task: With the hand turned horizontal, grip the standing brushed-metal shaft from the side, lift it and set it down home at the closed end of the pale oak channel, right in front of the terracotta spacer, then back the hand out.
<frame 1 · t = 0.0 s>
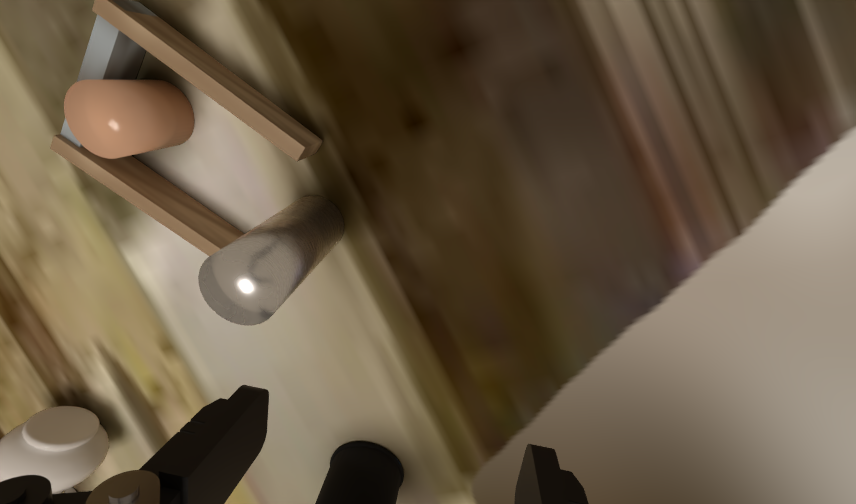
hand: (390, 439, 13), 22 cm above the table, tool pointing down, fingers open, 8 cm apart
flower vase: (87, 466, 52), on the table
aerosol can: (367, 467, 45), on the table
spacer: (164, 113, 33), resting in channel
shaft: (316, 223, 35), on the table
channel: (202, 141, 33), on the table
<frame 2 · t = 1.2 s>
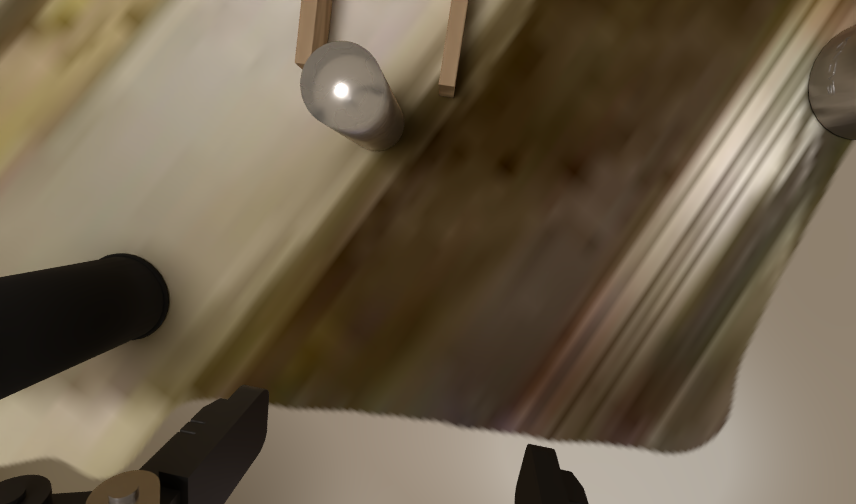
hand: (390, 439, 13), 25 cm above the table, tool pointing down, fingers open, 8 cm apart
aerosol can: (128, 296, 39), on the table
shaft: (376, 122, 36), on the table
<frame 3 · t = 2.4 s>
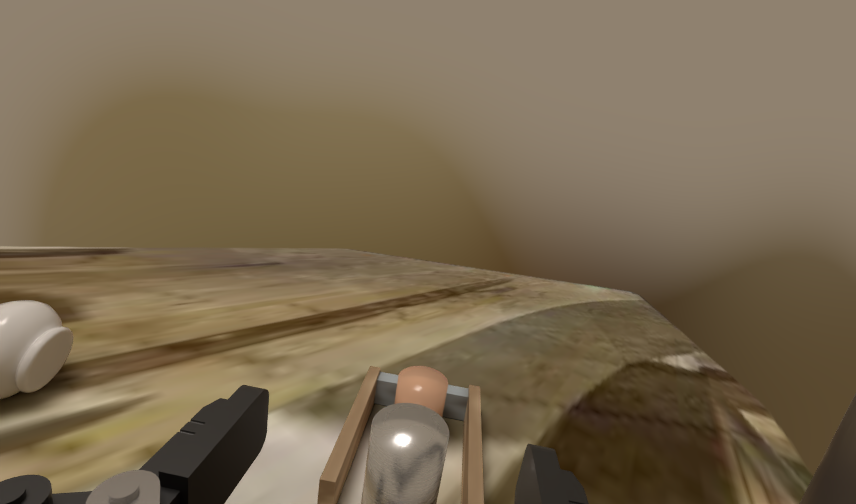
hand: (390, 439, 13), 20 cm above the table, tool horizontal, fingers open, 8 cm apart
spacer: (414, 430, 43), resting in channel
channel: (410, 454, 39), on the table
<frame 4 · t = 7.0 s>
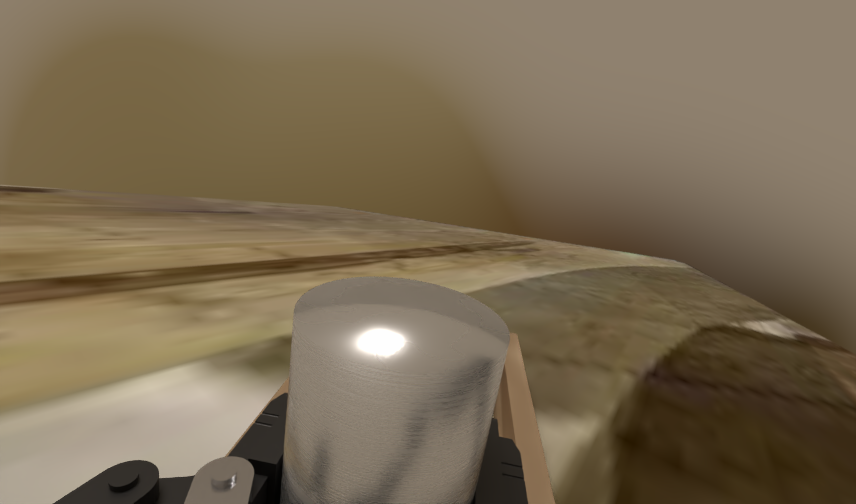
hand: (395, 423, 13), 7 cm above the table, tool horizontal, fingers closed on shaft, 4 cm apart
channel: (407, 432, 23), on the table
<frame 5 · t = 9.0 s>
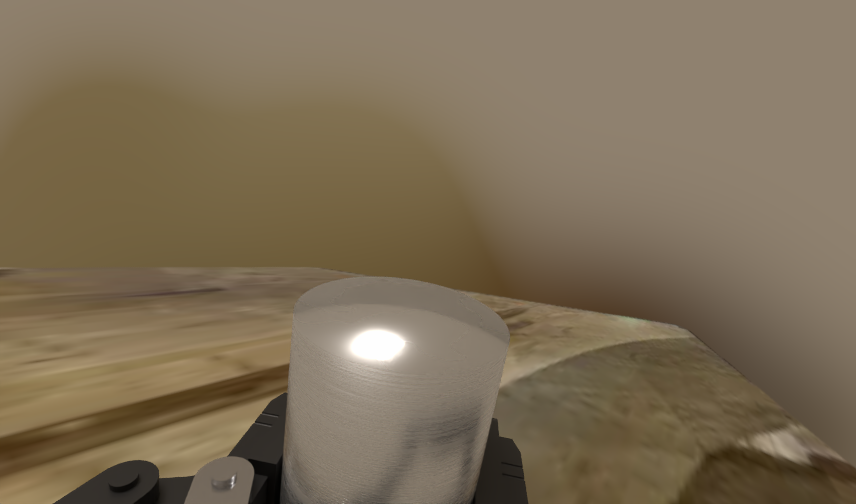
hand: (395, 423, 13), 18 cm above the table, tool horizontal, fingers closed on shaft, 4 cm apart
when the fingers open (8 cm above the table, at t = 11.3 s): shaft drops 1 cm, on the table.
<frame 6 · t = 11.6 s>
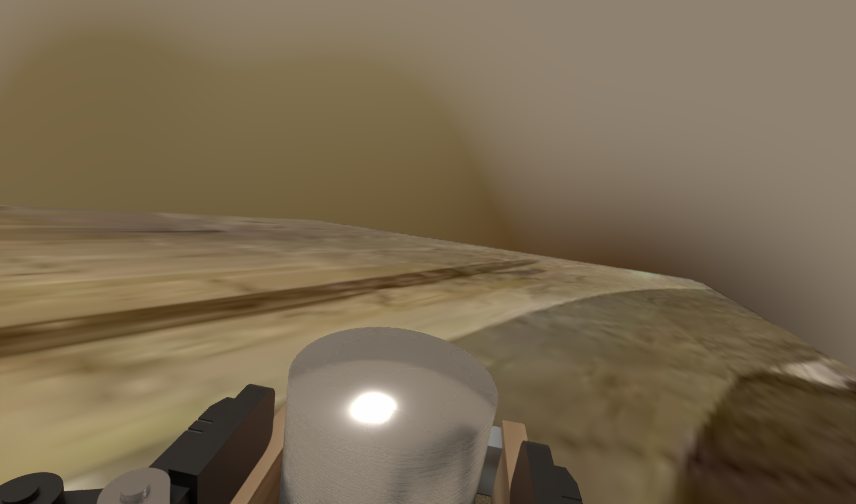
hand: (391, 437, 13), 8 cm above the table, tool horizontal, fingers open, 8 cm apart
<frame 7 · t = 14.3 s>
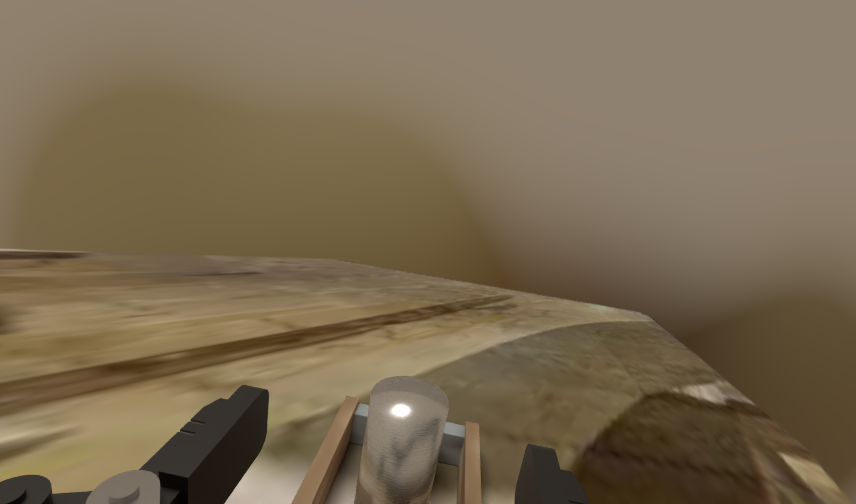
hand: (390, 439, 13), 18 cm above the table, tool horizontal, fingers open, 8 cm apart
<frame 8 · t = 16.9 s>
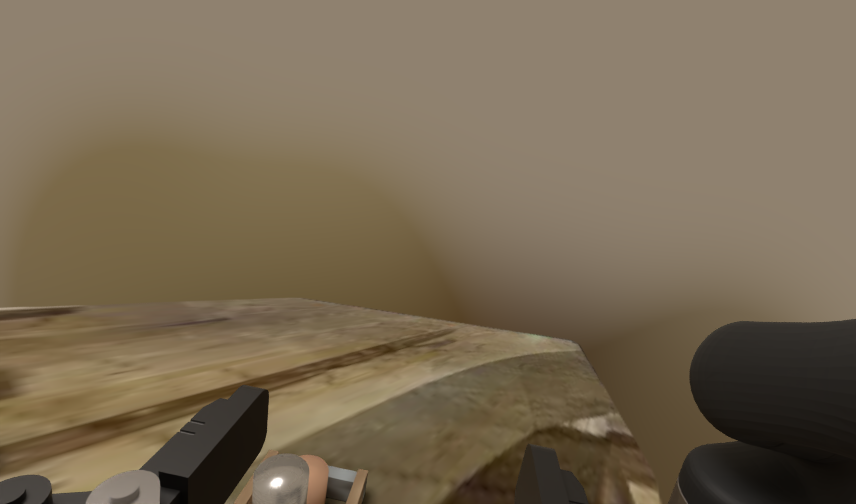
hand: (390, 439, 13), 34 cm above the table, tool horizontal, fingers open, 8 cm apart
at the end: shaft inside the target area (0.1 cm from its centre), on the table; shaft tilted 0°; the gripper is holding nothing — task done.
